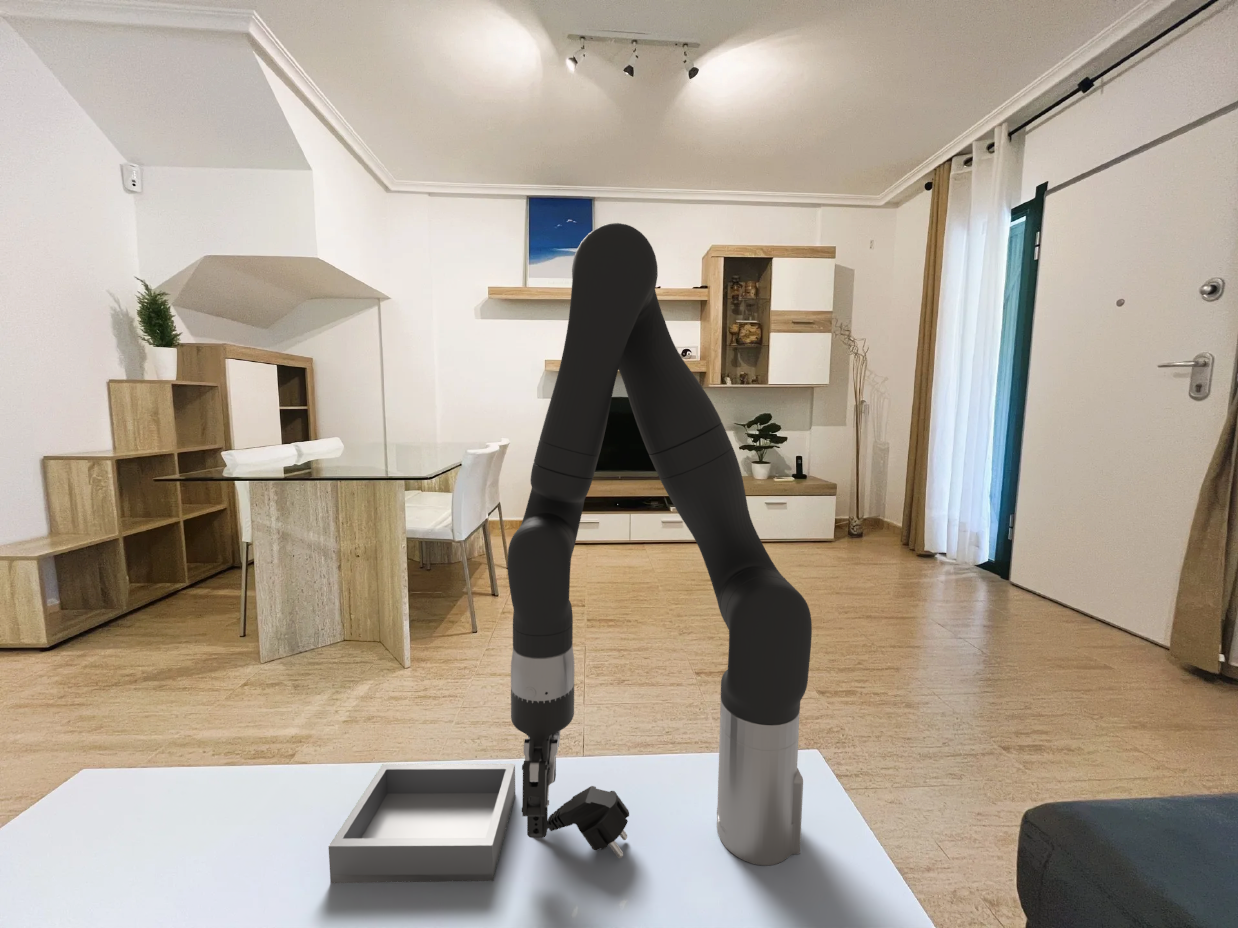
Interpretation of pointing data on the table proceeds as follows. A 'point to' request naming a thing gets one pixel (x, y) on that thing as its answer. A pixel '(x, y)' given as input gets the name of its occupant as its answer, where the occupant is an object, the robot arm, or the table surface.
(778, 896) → the table surface
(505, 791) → the box
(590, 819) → the power plug
